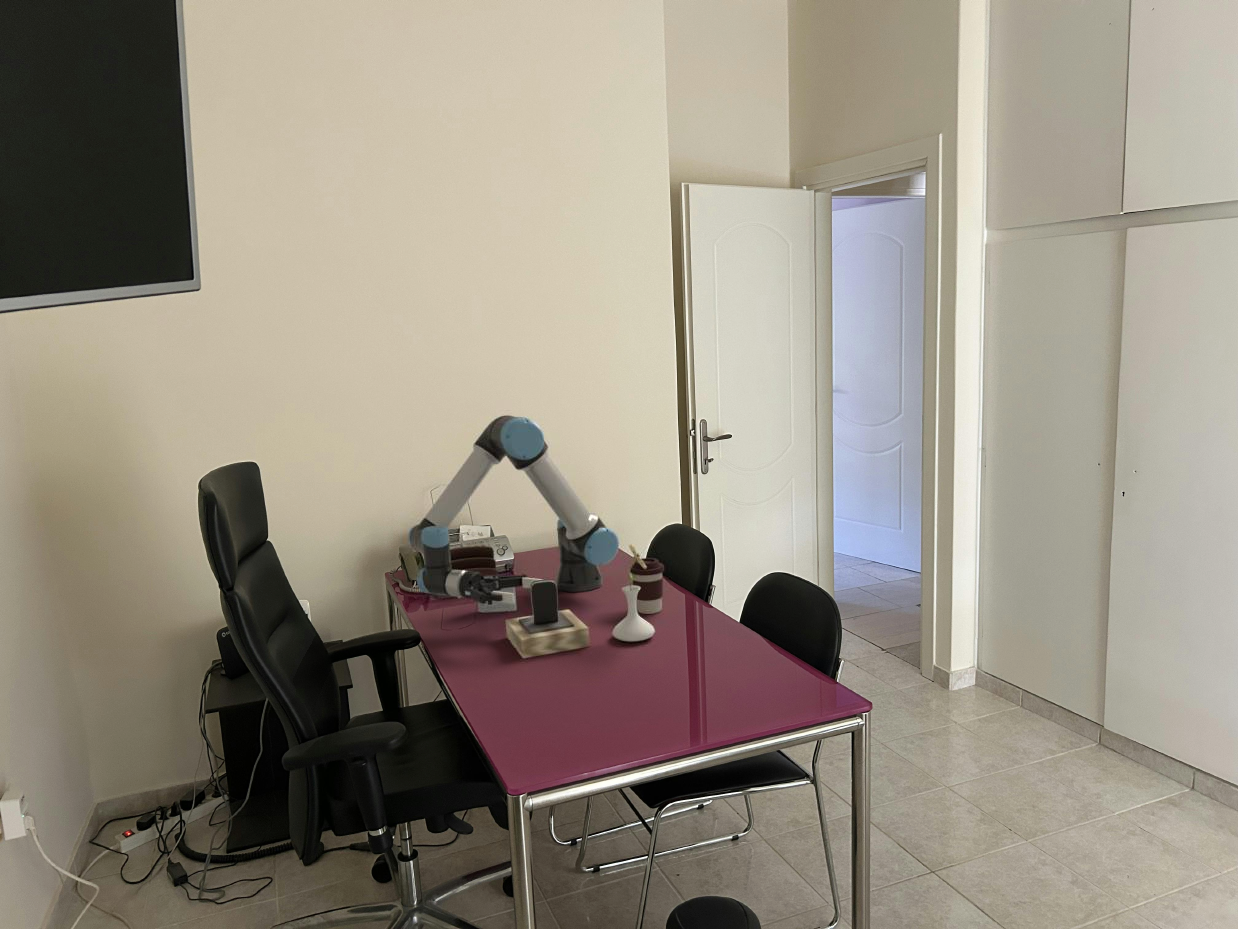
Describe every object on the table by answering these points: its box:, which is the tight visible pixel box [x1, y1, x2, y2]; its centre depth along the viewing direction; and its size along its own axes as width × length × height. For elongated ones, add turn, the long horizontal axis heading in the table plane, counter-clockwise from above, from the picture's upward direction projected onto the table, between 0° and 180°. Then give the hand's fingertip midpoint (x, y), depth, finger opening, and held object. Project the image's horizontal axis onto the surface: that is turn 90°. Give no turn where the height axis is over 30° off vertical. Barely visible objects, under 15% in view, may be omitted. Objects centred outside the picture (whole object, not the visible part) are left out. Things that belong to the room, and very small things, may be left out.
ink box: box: [477, 574, 518, 613], centre depth 273 cm, size 12×2×12 cm, turn 84°
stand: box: [505, 609, 591, 659], centre depth 244 cm, size 18×18×6 cm
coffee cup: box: [630, 557, 665, 615], centre depth 265 cm, size 10×10×15 cm
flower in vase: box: [612, 543, 656, 642], centre depth 242 cm, size 13×11×25 cm
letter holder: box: [436, 545, 499, 600], centre depth 296 cm, size 10×20×14 cm, turn 104°
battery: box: [529, 578, 559, 624], centre depth 243 cm, size 7×4×11 cm, turn 103°
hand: (528, 591), depth 245 cm, fingers open, 13 cm apart
